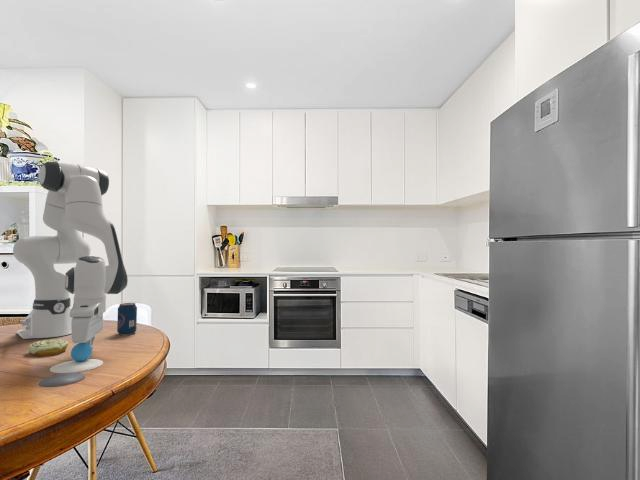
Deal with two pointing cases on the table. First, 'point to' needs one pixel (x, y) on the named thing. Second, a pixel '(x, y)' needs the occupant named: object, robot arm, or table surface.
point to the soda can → (127, 319)
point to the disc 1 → (61, 379)
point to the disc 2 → (76, 366)
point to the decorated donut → (48, 347)
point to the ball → (81, 352)
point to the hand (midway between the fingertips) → (88, 350)
